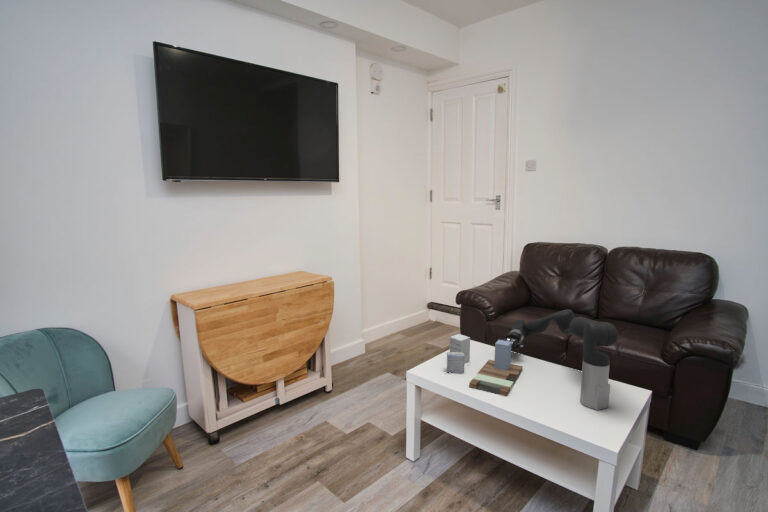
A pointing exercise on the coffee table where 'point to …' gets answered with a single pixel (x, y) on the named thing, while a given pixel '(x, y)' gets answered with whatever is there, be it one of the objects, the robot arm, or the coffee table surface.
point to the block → (502, 355)
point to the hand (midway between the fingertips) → (506, 348)
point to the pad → (493, 381)
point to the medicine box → (455, 362)
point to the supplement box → (460, 345)
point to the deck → (489, 370)
